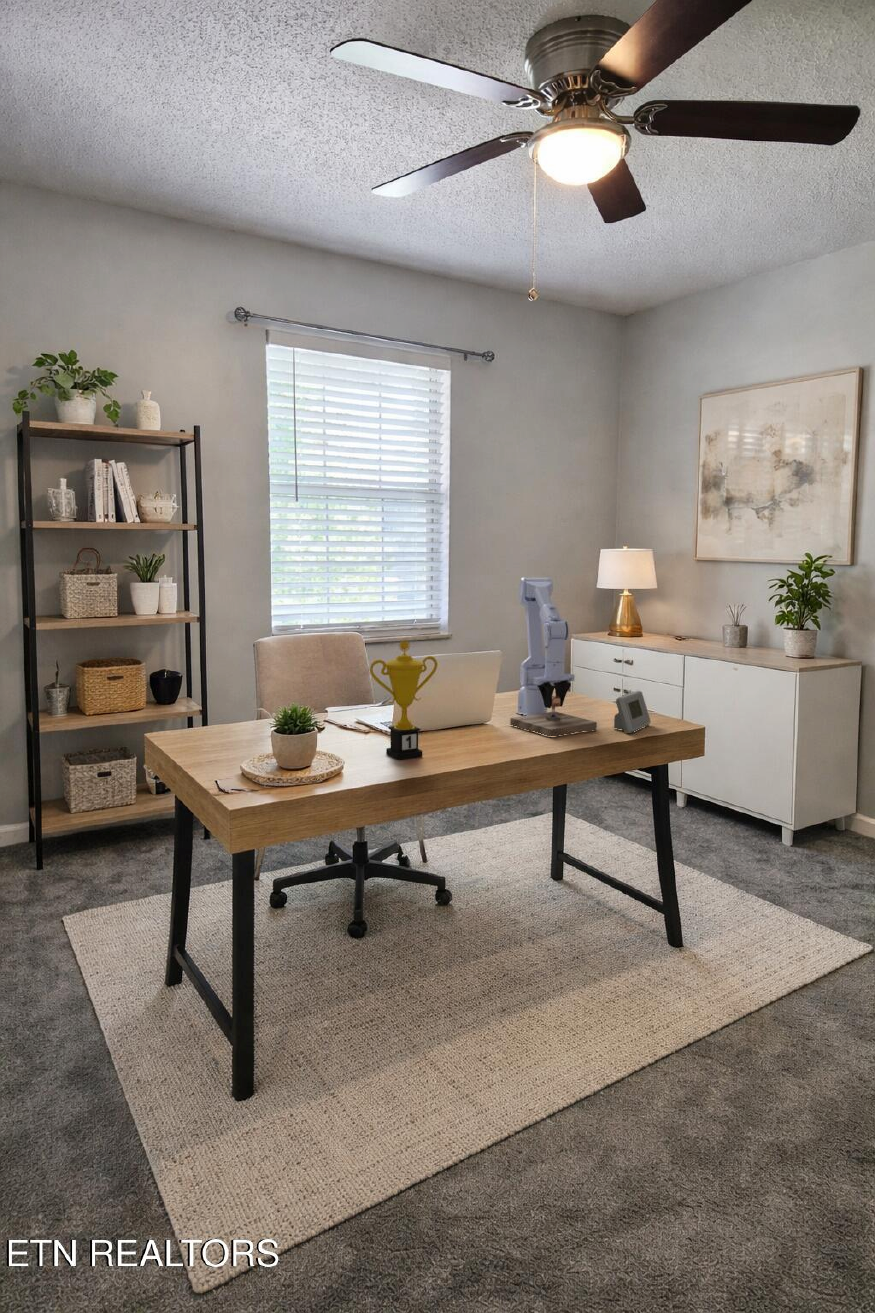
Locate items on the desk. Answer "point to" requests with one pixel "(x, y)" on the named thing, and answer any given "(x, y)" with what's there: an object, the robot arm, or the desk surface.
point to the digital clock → (631, 712)
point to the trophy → (404, 700)
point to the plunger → (555, 704)
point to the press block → (553, 723)
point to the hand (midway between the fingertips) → (553, 706)
